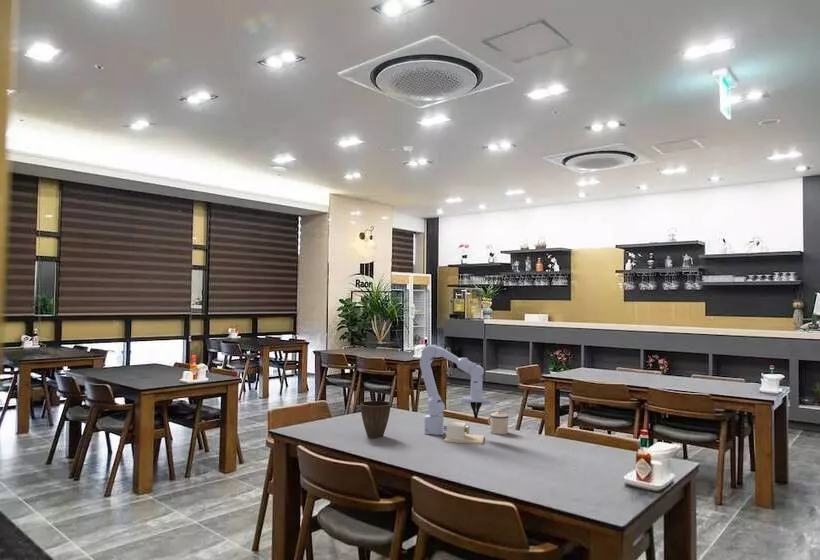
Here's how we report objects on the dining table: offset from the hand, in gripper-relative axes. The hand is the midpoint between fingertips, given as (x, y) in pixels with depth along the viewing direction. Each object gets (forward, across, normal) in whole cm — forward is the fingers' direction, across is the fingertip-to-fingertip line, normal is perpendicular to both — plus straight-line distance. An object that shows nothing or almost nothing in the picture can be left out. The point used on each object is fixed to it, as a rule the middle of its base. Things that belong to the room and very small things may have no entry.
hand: (475, 418), depth 280 cm
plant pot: (+10, -48, -12) cm, 50 cm away
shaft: (+6, -9, -7) cm, 13 cm away
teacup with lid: (+10, +10, +14) cm, 19 cm away
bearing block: (+9, -5, -7) cm, 12 cm away
